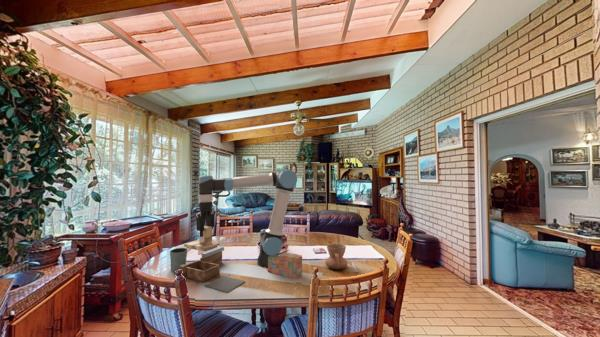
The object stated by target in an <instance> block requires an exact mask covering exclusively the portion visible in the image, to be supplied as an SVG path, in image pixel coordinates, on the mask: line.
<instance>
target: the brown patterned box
mask: <svg viewBox="0 0 600 337" xmlns="http://www.w3.org/2000/svg"><path fill="white" fill-rule="evenodd" d="M267 272H268V273H271V274H274V275H278V276H282V277H286V278H290V279H293V280H298V279H299V278H301V277H302V276H303V255H300V254H298V253H292V252H287V251H285V252H282V253H281V254H280V253H279V254H278V255H274V256H269V257H268V267H267Z"/></svg>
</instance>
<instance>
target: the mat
mask: <svg viewBox="0 0 600 337" xmlns="http://www.w3.org/2000/svg"><path fill="white" fill-rule="evenodd" d="M244 283H246V281H245V280H241V279H238V278H233V277H231V276H230V277H229V276H226V275H222V276H220V277H219V278H215V280H213V281H210V282H208V283H206V284H204V287H205V288H208V289H213V290H215V291H219V292H223V293H227V294H229V293H230V292H232V291H233V290H235V289H237V288H238V287H239V286H241V285H243V284H244Z"/></svg>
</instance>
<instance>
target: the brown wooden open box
mask: <svg viewBox="0 0 600 337" xmlns="http://www.w3.org/2000/svg"><path fill="white" fill-rule="evenodd" d="M222 263H223V251H221V252H219V253H216V254H213V255H211V256H208V257H205V258H203V257H202V256H201V257H200V258H199V259H198V260H195V261H192V262H190V263H186V265H180V266H179V269H182V271H183V273H182V275H183V276H184V277H185V278H186V279H188V278H189V280H193V281H196V282H199V283H206V282H208V281H210V280H213V279H214V278H215V279H216V277H218V276H220V273H221V271H220V270H221V264H222Z"/></svg>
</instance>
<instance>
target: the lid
mask: <svg viewBox="0 0 600 337" xmlns="http://www.w3.org/2000/svg"><path fill="white" fill-rule="evenodd" d="M204 231H205V242H204V243H203V242H200V231H198V234H199V237H198V238H199V239H197V240H193V241H190V242H187V243H184V246H183V248H187V249H189V250H195V251H201V252H207V251H210V250H213V249H215V248H218V246H220V242H217V241H213V229H212V227H211V226H207V225H204Z"/></svg>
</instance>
